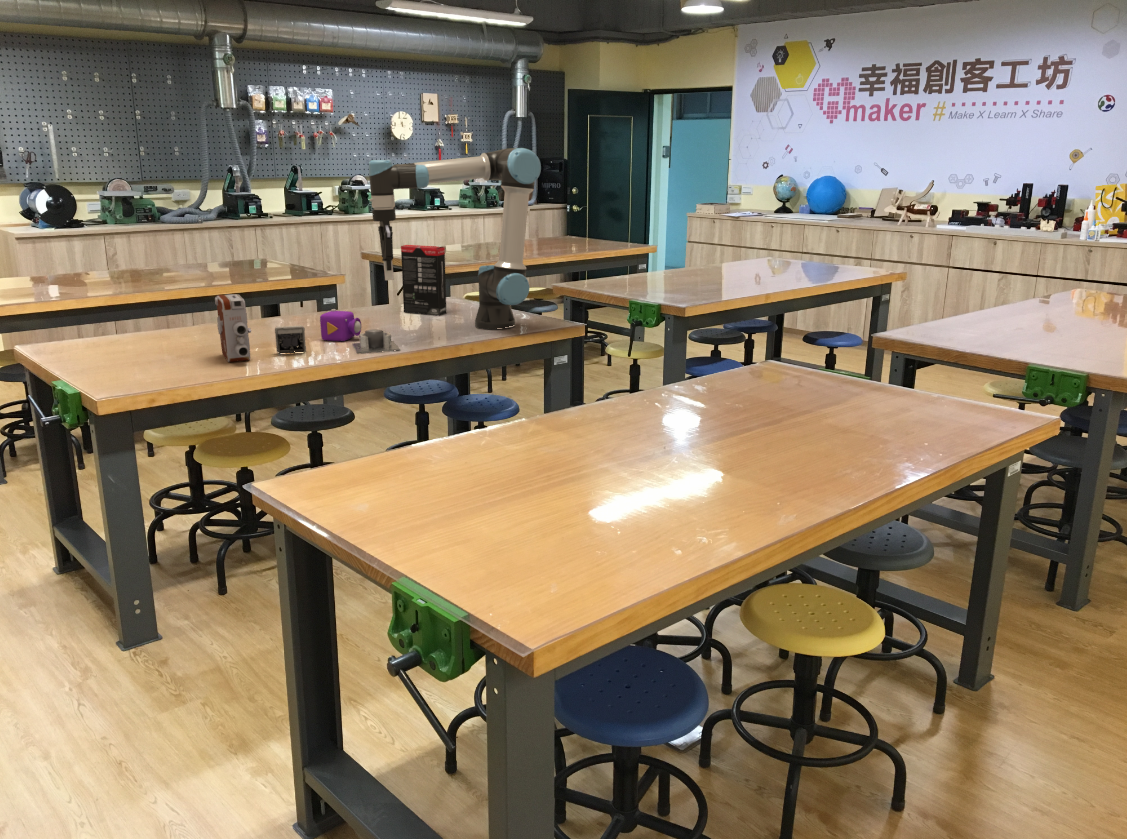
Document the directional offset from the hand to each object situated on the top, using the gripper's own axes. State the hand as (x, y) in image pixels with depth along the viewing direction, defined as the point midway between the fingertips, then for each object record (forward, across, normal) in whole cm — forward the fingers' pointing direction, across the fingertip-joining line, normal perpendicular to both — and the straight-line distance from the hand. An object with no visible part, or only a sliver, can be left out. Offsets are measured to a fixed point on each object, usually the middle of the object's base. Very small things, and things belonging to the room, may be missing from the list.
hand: (389, 279), depth 306 cm
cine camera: (+20, +9, -52) cm, 56 cm away
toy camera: (+22, -12, -16) cm, 29 cm away
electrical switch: (+21, +6, -34) cm, 41 cm away
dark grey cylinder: (+21, +7, -8) cm, 23 cm away
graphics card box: (+23, -53, +22) cm, 62 cm away
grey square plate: (+22, +6, -8) cm, 24 cm away
